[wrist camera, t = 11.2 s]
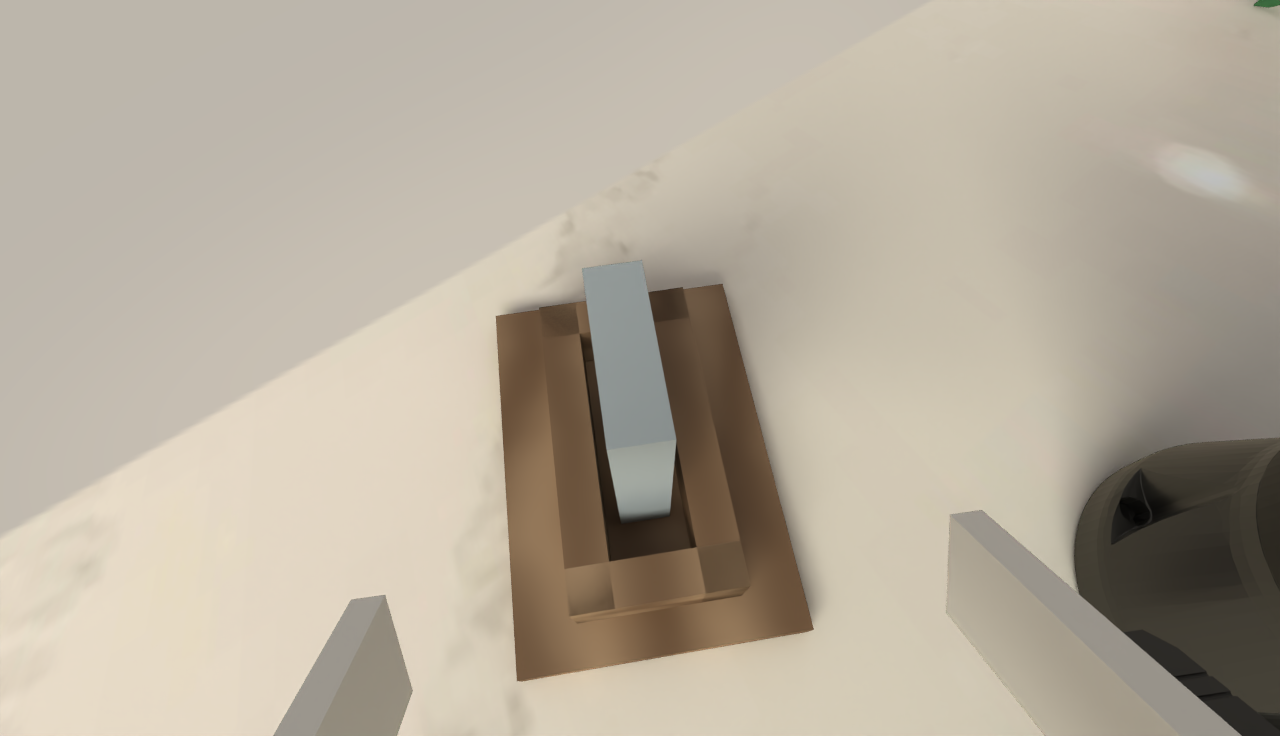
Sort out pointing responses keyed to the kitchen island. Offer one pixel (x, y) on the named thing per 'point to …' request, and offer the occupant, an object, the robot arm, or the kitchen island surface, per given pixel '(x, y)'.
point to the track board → (650, 549)
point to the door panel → (631, 390)
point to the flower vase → (1267, 3)
